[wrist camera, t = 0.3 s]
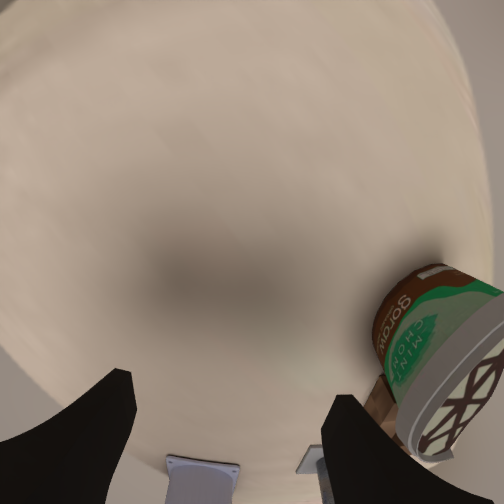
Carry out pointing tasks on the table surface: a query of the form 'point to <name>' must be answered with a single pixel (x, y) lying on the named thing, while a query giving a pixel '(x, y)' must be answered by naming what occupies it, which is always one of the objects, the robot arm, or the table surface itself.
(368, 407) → the hole block
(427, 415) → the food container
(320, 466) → the peg
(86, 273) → the table surface
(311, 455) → the mat
